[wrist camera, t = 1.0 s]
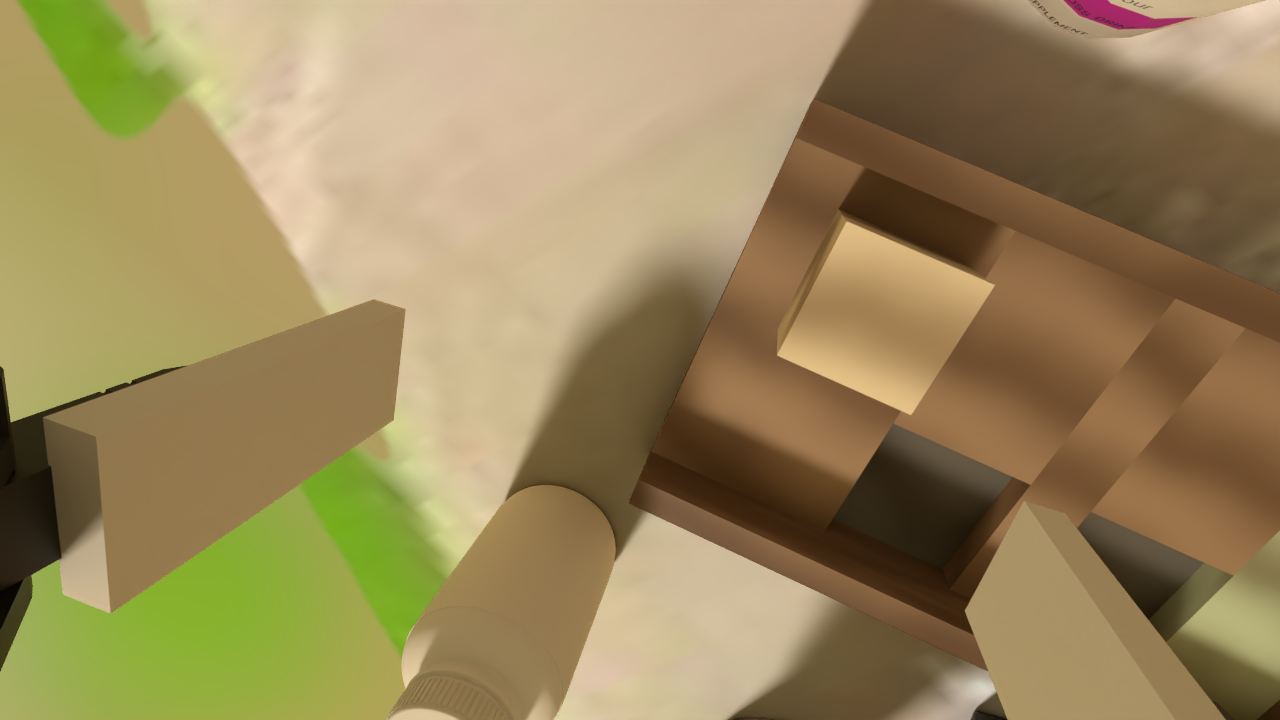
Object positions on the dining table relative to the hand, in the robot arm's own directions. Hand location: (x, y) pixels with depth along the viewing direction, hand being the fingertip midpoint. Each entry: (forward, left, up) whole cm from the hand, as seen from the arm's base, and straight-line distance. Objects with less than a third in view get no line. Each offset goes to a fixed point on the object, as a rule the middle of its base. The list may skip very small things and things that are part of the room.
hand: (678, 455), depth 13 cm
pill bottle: (+20, -3, -20) cm, 29 cm away
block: (-1, +6, -18) cm, 19 cm away
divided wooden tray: (+2, +16, -20) cm, 25 cm away
